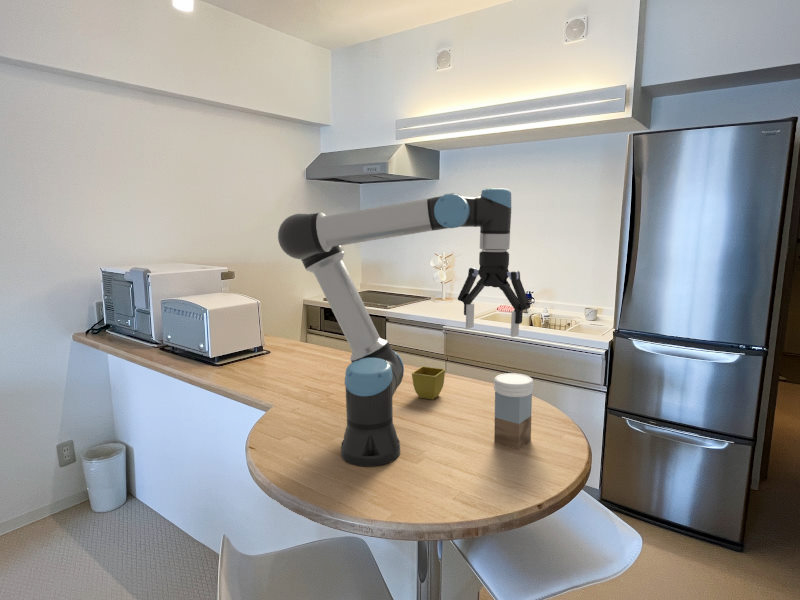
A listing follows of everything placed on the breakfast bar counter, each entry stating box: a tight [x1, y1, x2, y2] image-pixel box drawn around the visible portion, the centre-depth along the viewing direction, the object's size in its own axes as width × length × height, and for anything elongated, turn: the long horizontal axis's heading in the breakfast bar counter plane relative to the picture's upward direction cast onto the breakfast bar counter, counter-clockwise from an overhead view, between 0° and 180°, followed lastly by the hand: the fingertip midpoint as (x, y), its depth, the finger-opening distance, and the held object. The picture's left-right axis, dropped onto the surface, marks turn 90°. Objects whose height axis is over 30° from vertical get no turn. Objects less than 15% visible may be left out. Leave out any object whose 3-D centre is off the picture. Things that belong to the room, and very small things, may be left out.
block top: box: [494, 391, 533, 424], centre depth 127 cm, size 7×7×7 cm
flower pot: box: [411, 366, 446, 400], centre depth 162 cm, size 9×9×9 cm
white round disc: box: [493, 372, 534, 397], centre depth 126 cm, size 10×10×4 cm
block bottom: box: [493, 415, 532, 451], centre depth 128 cm, size 7×7×7 cm
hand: (491, 331), depth 127 cm, fingers open, 13 cm apart
